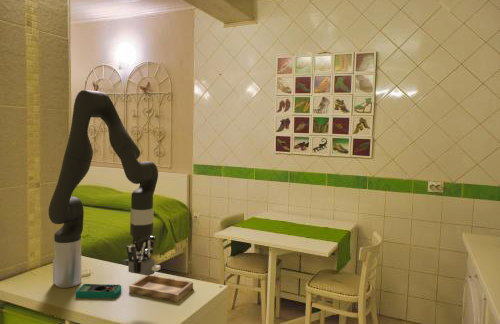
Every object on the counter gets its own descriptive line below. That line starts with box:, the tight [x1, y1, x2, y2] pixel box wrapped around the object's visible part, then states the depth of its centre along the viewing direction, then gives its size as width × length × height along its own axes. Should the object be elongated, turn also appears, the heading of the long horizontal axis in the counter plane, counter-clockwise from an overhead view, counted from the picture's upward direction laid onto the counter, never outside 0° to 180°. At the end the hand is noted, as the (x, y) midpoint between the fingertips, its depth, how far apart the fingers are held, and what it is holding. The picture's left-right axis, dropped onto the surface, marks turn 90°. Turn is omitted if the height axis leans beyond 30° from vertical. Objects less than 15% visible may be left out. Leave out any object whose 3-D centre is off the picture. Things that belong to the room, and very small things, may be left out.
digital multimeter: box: [75, 283, 122, 300], centre depth 143 cm, size 7×15×3 cm, turn 91°
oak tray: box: [128, 274, 194, 303], centre depth 147 cm, size 20×12×3 cm, turn 71°
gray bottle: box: [121, 255, 162, 276], centre depth 134 cm, size 14×4×4 cm, turn 71°
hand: (141, 269), depth 134 cm, fingers closed on gray bottle, 4 cm apart
